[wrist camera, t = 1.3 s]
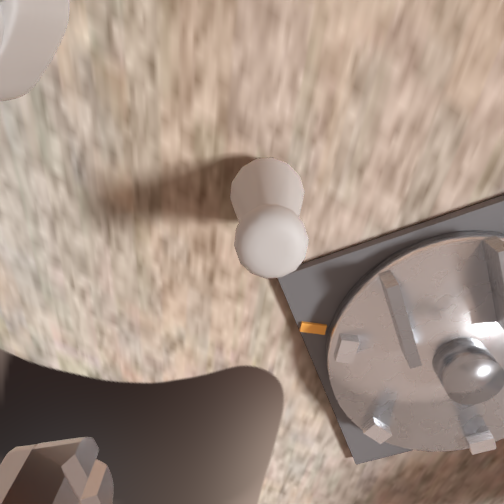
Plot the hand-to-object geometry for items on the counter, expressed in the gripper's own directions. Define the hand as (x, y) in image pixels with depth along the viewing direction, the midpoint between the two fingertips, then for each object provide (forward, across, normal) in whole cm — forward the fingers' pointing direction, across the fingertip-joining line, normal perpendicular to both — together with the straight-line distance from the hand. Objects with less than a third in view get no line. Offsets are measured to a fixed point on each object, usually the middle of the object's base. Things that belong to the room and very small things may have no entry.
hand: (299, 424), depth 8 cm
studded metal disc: (+27, -14, +22) cm, 37 cm away
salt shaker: (+28, 0, +3) cm, 29 cm away
